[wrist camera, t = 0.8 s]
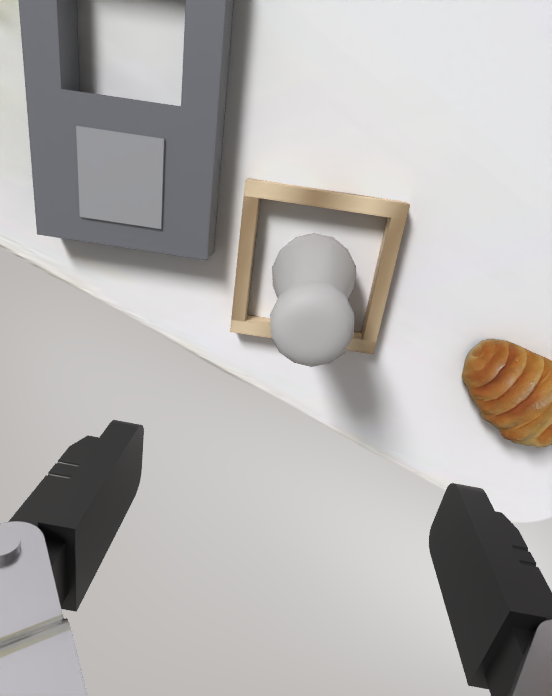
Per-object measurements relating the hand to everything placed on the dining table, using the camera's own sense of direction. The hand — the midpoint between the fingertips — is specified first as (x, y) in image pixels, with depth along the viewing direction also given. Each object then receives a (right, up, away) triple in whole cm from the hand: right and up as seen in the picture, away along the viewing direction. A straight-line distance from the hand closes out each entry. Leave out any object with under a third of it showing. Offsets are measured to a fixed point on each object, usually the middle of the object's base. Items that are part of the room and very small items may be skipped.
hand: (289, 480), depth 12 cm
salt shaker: (+2, +9, +22) cm, 24 cm away
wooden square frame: (+2, +9, +22) cm, 24 cm away
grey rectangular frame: (-10, +20, +19) cm, 29 cm away
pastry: (+19, 0, +25) cm, 31 cm away
